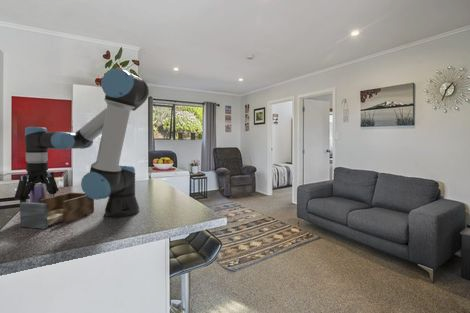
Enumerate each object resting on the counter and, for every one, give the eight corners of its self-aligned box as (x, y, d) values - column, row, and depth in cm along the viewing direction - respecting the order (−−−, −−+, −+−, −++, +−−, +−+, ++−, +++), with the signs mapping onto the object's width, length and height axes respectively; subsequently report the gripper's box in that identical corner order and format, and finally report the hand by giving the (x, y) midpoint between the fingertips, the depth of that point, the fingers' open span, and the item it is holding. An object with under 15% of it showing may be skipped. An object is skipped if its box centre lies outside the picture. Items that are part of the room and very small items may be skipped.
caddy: (65, 222, 102) (65, 201, 102) (40, 220, 105) (39, 199, 104) (94, 211, 118) (93, 193, 118) (71, 210, 120) (70, 192, 120)
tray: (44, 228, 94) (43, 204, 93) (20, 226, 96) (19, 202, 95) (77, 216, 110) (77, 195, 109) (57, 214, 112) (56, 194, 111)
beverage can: (37, 220, 105) (36, 186, 104) (26, 219, 106) (25, 185, 105) (50, 216, 111) (49, 183, 110) (40, 215, 112) (39, 183, 111)
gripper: (53, 160, 119) (55, 204, 120) (0, 164, 96) (2, 218, 97) (66, 160, 118) (68, 204, 119) (16, 164, 95) (18, 219, 96)
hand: (38, 211), depth 108 cm, fingers open, 11 cm apart
